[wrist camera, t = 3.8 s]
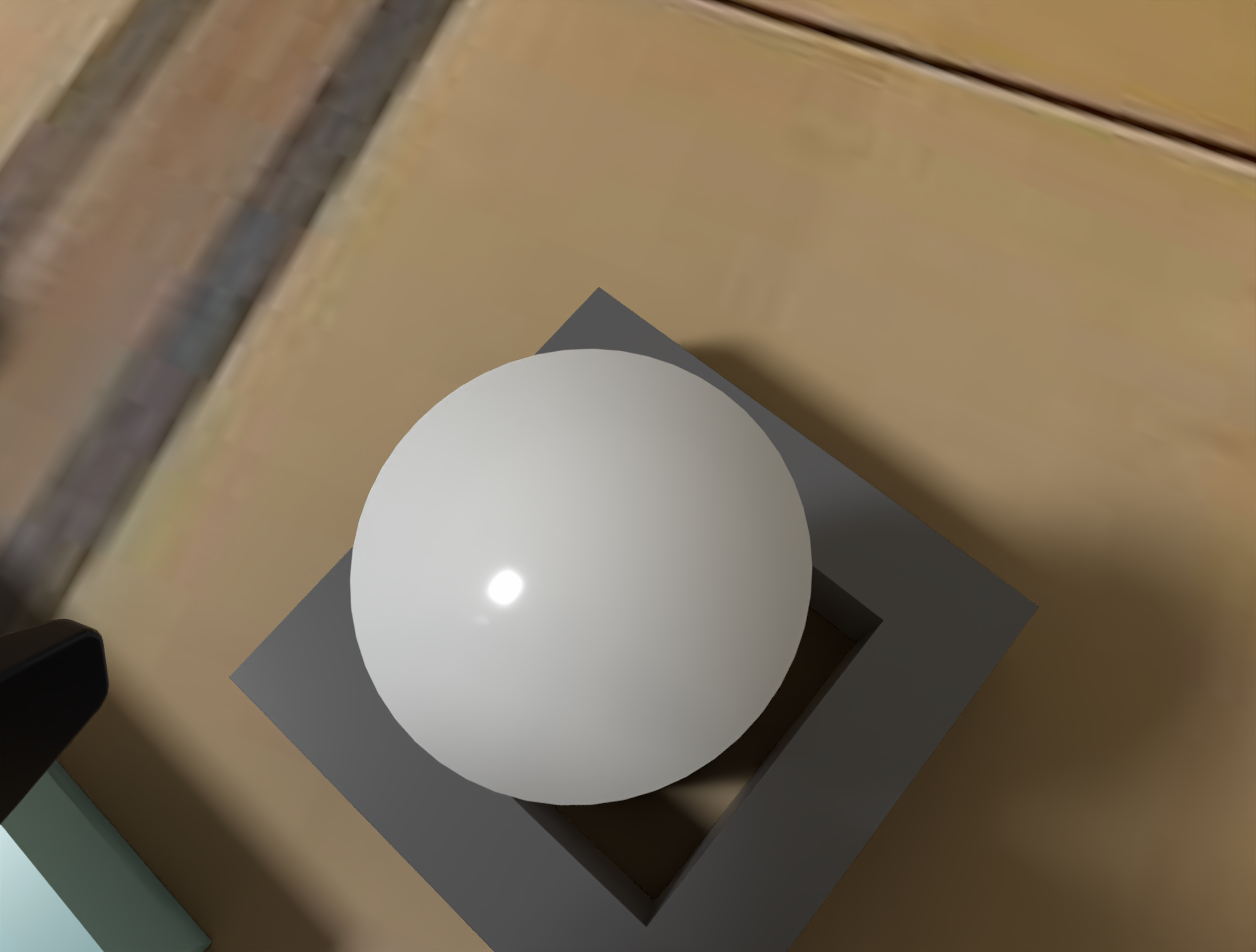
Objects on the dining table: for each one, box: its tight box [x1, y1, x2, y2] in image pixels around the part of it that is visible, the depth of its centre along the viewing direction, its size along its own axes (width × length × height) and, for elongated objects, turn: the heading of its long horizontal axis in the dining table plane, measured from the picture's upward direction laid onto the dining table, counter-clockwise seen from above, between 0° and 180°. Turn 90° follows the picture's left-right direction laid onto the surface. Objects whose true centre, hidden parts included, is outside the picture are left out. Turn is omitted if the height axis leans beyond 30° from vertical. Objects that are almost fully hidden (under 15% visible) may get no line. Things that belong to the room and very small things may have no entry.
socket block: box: [229, 287, 1039, 952], centre depth 18 cm, size 11×11×3 cm
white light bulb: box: [350, 349, 812, 805], centre depth 15 cm, size 5×5×10 cm
